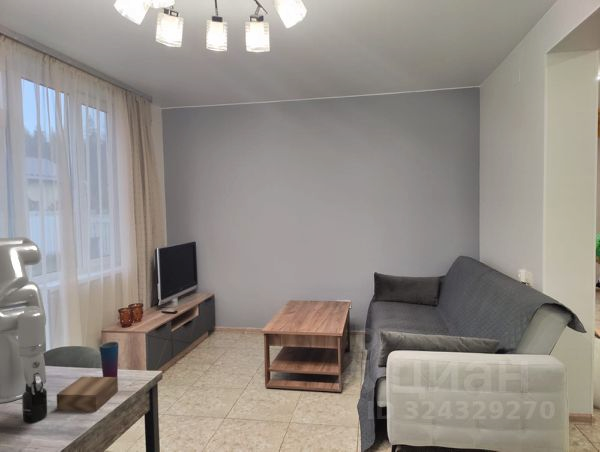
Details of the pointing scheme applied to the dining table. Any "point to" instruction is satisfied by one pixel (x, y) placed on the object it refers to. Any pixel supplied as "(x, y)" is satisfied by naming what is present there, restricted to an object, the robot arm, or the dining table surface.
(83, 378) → the walnut block
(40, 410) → the supplement bottle
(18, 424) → the dining table surface
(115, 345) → the cup
